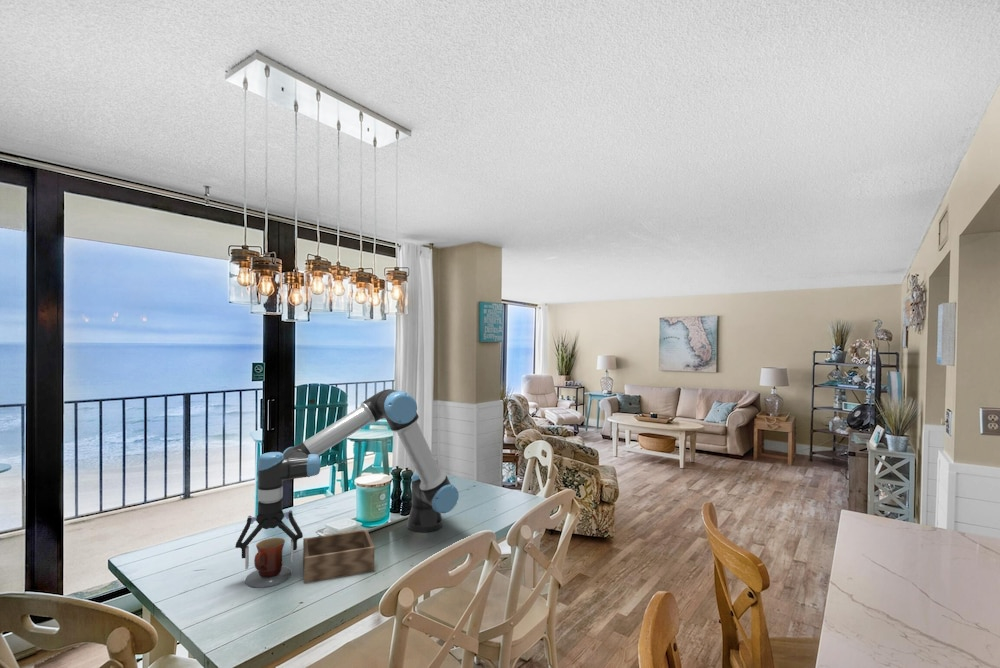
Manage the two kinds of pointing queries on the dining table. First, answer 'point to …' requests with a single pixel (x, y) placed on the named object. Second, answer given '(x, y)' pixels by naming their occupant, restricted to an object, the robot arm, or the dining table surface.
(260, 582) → the coaster
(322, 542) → the box
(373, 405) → the robot arm
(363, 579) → the dining table surface
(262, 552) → the mug
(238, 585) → the dining table surface
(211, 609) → the dining table surface
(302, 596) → the dining table surface
